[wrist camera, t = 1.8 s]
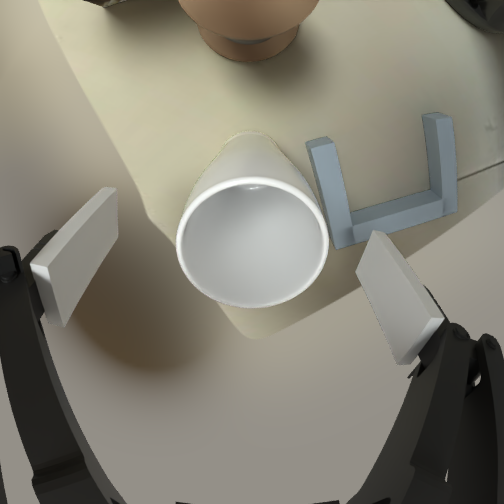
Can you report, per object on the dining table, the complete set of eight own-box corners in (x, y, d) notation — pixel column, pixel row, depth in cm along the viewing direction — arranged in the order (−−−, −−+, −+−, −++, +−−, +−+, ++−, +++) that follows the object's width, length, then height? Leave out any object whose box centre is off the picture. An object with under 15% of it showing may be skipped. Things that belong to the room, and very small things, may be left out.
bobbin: (278, -30, 16) (298, -90, 6) (310, 47, 20) (355, 28, 11) (186, -3, 17) (145, -49, 8) (217, 74, 21) (195, 70, 12)
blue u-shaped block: (437, 112, 22) (451, 116, 20) (445, 201, 27) (457, 211, 25) (304, 142, 24) (310, 148, 22) (329, 236, 30) (335, 249, 27)
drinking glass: (300, 177, 26) (348, 281, 14) (232, 205, 28) (220, 326, 15) (270, 108, 23) (298, 147, 10) (197, 142, 24) (142, 220, 12)
